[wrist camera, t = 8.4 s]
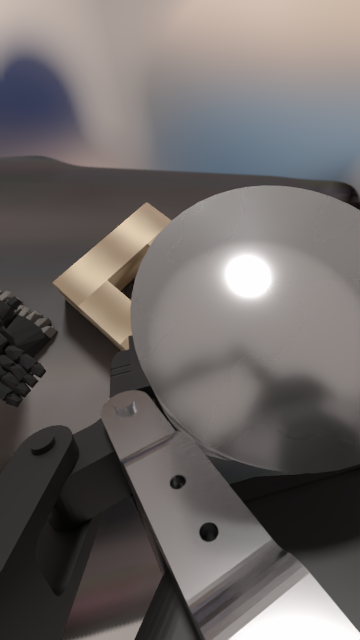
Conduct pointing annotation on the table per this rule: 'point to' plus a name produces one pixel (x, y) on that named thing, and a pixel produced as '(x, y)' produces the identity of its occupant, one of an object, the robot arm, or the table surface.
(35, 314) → the toy
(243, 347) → the pin
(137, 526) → the table surface
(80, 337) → the table surface
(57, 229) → the table surface
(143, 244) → the socket
